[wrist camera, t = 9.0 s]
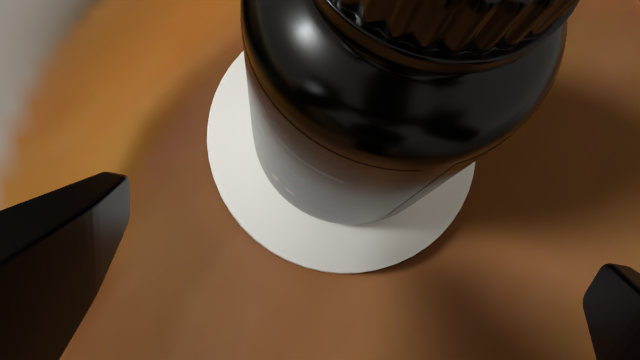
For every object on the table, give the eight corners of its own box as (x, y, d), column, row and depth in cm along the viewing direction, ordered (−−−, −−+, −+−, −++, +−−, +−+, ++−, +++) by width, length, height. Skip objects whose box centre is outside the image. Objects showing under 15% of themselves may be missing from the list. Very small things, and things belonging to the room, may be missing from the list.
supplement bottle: (351, 19, 19) (484, -403, 8) (472, 149, 19) (815, -105, 7) (210, 123, 18) (114, -217, 6) (336, 270, 17) (496, 198, 5)
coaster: (412, 320, 18) (420, 321, 17) (160, 201, 18) (154, 196, 17) (501, 89, 20) (512, 79, 20) (280, -14, 21) (280, -28, 20)
